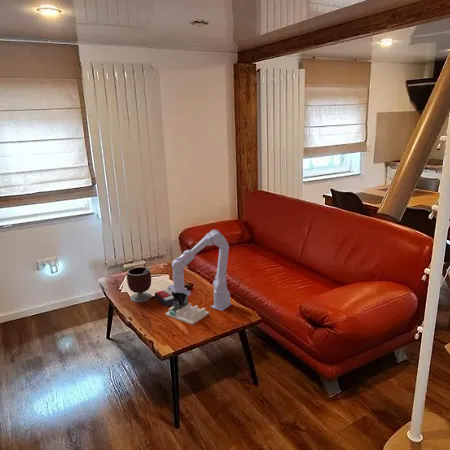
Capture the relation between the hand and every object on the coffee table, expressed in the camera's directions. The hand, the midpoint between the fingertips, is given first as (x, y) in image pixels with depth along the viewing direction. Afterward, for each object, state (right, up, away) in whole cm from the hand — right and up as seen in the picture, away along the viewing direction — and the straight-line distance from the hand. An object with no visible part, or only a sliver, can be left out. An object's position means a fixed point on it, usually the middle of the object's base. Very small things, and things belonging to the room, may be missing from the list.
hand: (179, 304), depth 212 cm
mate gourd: (-25, 0, +19) cm, 31 cm away
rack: (+4, -5, -2) cm, 7 cm away
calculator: (-9, -1, +17) cm, 19 cm away
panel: (0, -3, +1) cm, 4 cm away
